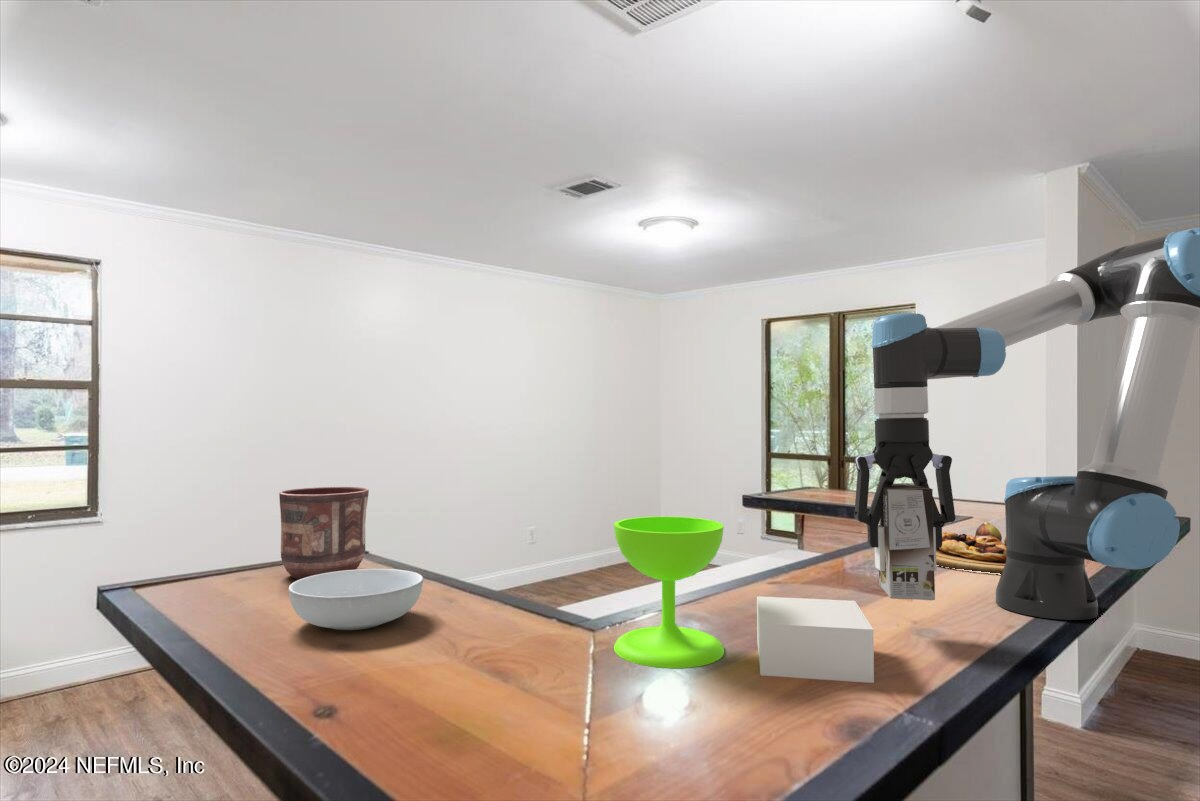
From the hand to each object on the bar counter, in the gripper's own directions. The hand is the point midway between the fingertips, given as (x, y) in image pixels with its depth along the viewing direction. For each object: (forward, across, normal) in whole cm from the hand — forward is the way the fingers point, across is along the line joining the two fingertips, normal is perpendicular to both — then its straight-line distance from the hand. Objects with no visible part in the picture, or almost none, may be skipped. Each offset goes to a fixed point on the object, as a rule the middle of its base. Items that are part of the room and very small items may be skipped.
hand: (905, 568), depth 106 cm
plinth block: (+11, +16, +11) cm, 22 cm away
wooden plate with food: (+12, -36, -63) cm, 74 cm away
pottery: (+9, +110, -31) cm, 114 cm away
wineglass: (+10, +36, +8) cm, 38 cm away
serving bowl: (+9, +87, +1) cm, 87 cm away
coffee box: (+4, 0, 0) cm, 4 cm away
